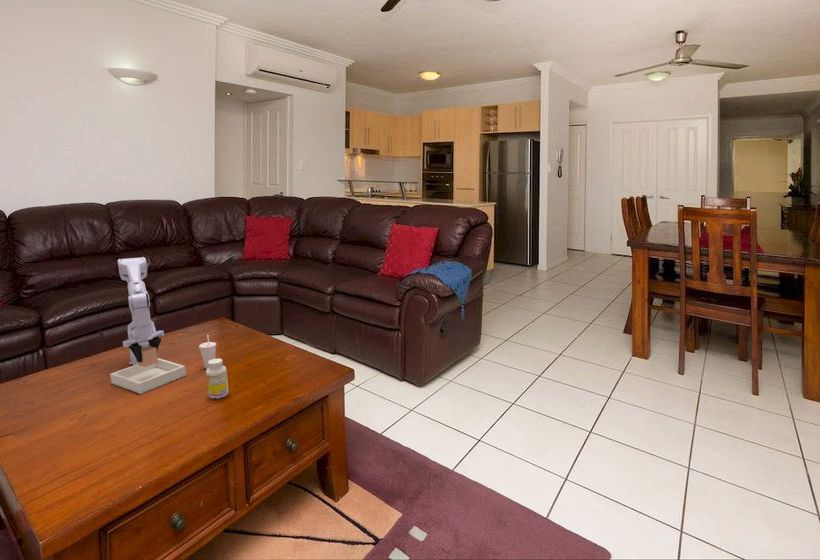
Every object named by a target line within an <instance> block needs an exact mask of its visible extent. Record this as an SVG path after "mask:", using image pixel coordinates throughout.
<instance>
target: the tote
mask: <svg viewBox="0 0 820 560" xmlns="http://www.w3.org/2000/svg"><path fill="white" fill-rule="evenodd" d="M157 358H158V363H156V364H153V365H150V366H147V367H143V366H140V365H132V366H128V367H127V368H126V367H125V368H123V369H120V370H117V371H115V372H112V373H111V372H110V380H111V381H110V382H111V384H112V385H114V386H117V387H120V388H122V389H124V390H128V391H131V392H133V393H136V394H138V395H142V394H144V393H147V392H149V391H152V390H154V389H155V390H156V388H159V387H162V386H164V385H167V384H169V383H172V382H175V381H176V379H177V380H179V379H181V377H182V378H184V377H186V376H187V372H186V365H182V364H179V363H177V362H172V361H169V360H167V359H163V358H159V357H157ZM171 381H172V382H171Z"/></svg>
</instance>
